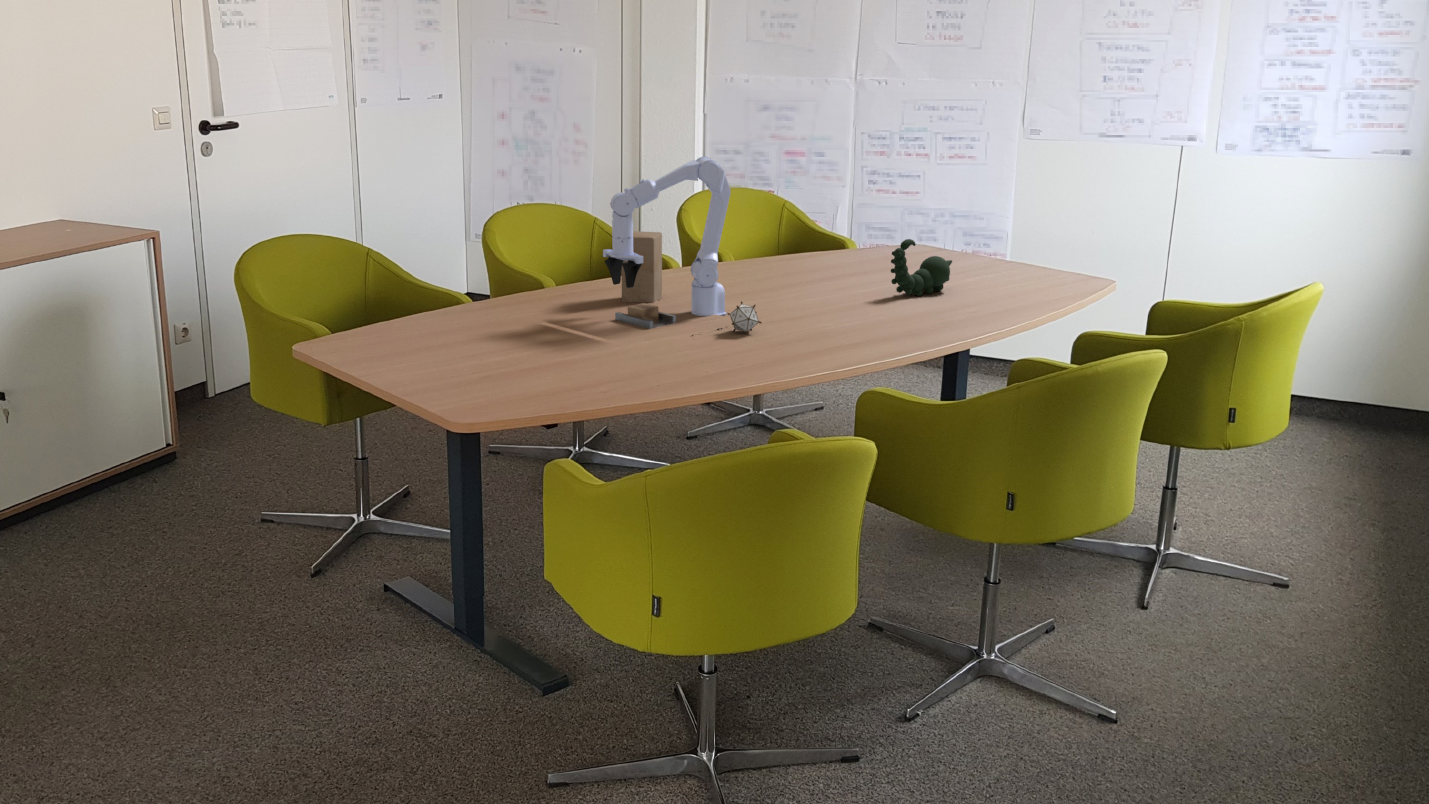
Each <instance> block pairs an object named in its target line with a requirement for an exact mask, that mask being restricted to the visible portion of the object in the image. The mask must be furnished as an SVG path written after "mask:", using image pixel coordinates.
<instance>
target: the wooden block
mask: <svg viewBox="0 0 1429 804" xmlns="http://www.w3.org/2000/svg"><path fill="white" fill-rule="evenodd" d="M633 252H634V253H636V254H638V255H641V256H643V263H642V265H641V267H640V268H639V270H638V273H637V275H636V279H635V283H634V287H631V288H627V287H626V278H625V272H624V268H623V266H622V269H621V303H622V304H624V303H625V304H627V303H630V302H637V303H648V304H649V303H652V304H654V303H656V302H659V301H660V300H661V299H662V298H663V234H662V232H659V231H658V232H657V231H656V232H655V231H641V230H640V231H638V230H633ZM626 262H628V261H625V260H624V261H623V263H626Z"/></svg>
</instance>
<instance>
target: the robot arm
mask: <svg viewBox="0 0 1429 804" xmlns="http://www.w3.org/2000/svg"><path fill="white" fill-rule="evenodd" d="M699 180H700V181H701V182H703V184H705V186H706V187H707V189H708V190H709V192H710V193H711V197H710V201H709V205H708V211H707V214H706V220H705V226H704V230H703V233H702V237H701V243H700V249H698V252H697V254H696V257H695V259H694V261H693V262H692V264H691V266H690V272H691V273H690V274H691V276H692V277H693V278H694V279H693V281H692V282H691V314H692V315H694V316H699V317H711V316H714V315H717V316H725V315H728V314H727V313H728V312H726V291H725V288H724V286H723V285H722V284H721V283H720V282H717V281H718V280H719V270H718V264H719V258H718V256H719V255H718V253H719V248H720V243H721V239H722V233H723V229H724V225H725V222H726V221H725V220H726V217H727V216H726V215H727V212H728V206H729V202H730V199H731V198H730V197H731V191H732V190H731V187H730V184H729V181H728V179H727V175H726V170H725V169H724V168H723V167H722V166H721V164H720V163H718V162H717V161H716V160H713V159H712V158H710V157H708V156H701V157H698V158H697V159H696V160H695V159H693V160H690V161H688V162H686V163H684V164H682V165H681V166H678V167H677V168H675V169H673V170H672V171H670V172H668V173H666V174H665V175H663V176H661V177H659V178H657V179H656V180H651V179H649V178H648V179H646V180H645V179H644V178H642V179H640V180H639V181H638V182H639V183H638V184H636V185H633V186H631V187H630V188H627V187H626V188H623V191H624V192H617V193H615V194H614V195H613V196H612V197H611V200H610V203H609V205H610V208H611V209H612V216H611V218H612V220H611V225H612V226H611V229H612V231H611V235H612V236H611V238H612V239H611V240H612V242H611V243H612V249H611V248H610V249H609V248H608V249H602V256H603V258H607V259H605V260H604V264H605V265H606V268H608V272H609V274H610V276H611V277H610V278H611V281H612V284H613V285H614V286H615V285H620V284H621V283H622V271H621V269H622V266H623V268H624V272H625V278H626V287H627V288H631V287H634V283H635V279H636V275H637V273H638V270H639V268H640V267H641V265H642V263H643V256H641V255H638V254H636V253H634V252H633V231H634V221H633V213H634V211H635V209H639V208H641V207H643V206H645V205H646V204H649V203H650V202H653V201H655V200H656V199H658V198H659V195H660V193H661V192H662V191H663V190H666V189H669V188H670V187H671V188H672V187H673V186H676V185H678V184H679V183H681V182H684V181H694V182H698V181H699ZM624 260H625V261H628V262H626V263H623V261H624Z"/></svg>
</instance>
